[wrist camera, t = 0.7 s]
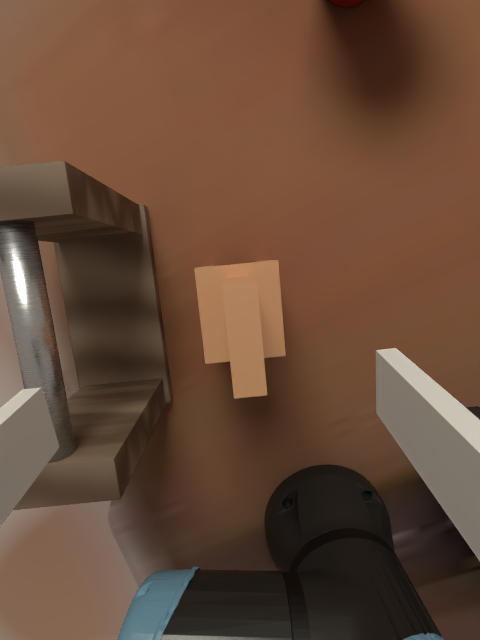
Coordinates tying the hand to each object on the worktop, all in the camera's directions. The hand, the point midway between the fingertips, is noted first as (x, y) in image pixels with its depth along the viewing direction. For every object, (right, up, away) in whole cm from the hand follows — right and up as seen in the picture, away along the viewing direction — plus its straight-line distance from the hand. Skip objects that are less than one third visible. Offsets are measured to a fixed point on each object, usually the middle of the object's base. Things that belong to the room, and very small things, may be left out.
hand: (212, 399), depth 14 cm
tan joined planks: (+1, +6, +27) cm, 28 cm away
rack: (-13, +4, +27) cm, 30 cm away
